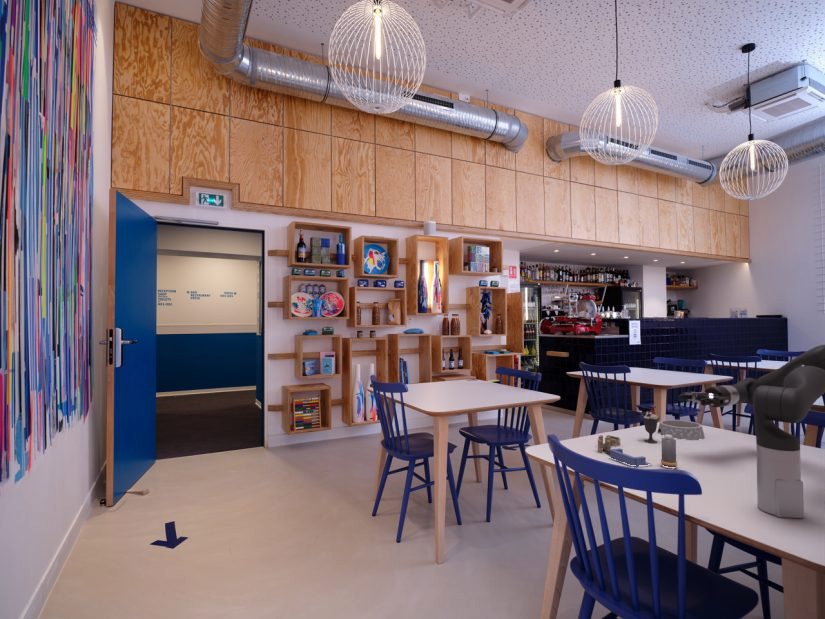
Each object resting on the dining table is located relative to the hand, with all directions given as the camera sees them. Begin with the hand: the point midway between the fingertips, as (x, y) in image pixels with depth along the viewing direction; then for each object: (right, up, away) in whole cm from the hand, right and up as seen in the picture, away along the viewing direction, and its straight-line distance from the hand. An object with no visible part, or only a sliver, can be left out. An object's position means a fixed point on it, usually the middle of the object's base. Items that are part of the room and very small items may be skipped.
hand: (690, 400), depth 162 cm
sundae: (+1, -23, +28) cm, 36 cm away
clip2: (-22, -23, +19) cm, 37 cm away
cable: (-22, -22, +16) cm, 35 cm away
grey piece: (-10, -22, -4) cm, 25 cm away
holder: (-21, -23, +1) cm, 31 cm away
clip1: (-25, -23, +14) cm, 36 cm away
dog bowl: (+20, -24, +39) cm, 50 cm away
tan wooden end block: (-17, -23, +23) cm, 37 cm away
